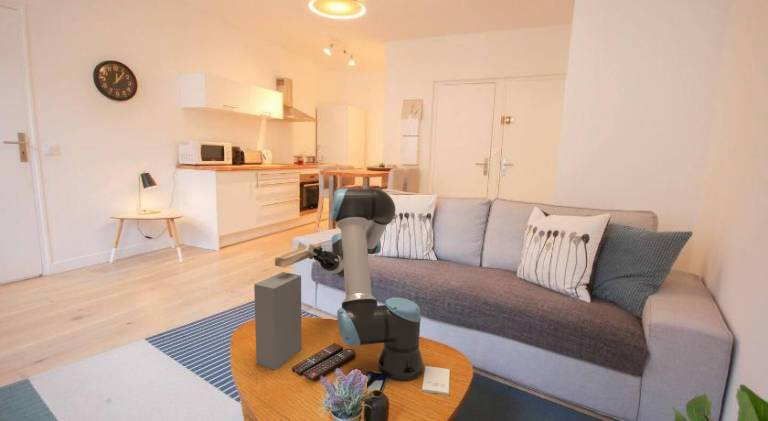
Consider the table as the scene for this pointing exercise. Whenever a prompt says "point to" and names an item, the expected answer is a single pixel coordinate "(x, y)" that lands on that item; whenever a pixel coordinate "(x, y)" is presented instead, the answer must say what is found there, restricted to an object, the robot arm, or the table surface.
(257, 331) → the tall stand
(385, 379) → the smartphone
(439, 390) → the external hard drive
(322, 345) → the table surface
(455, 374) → the table surface
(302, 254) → the birch strip
